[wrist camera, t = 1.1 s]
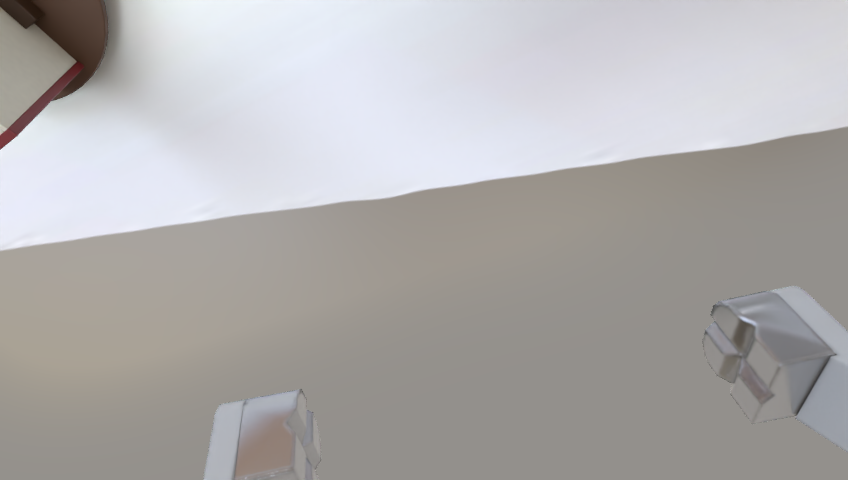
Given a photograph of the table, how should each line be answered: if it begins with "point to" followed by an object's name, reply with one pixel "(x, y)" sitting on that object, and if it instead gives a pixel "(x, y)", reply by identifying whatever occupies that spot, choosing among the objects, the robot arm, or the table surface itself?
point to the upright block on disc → (45, 55)
